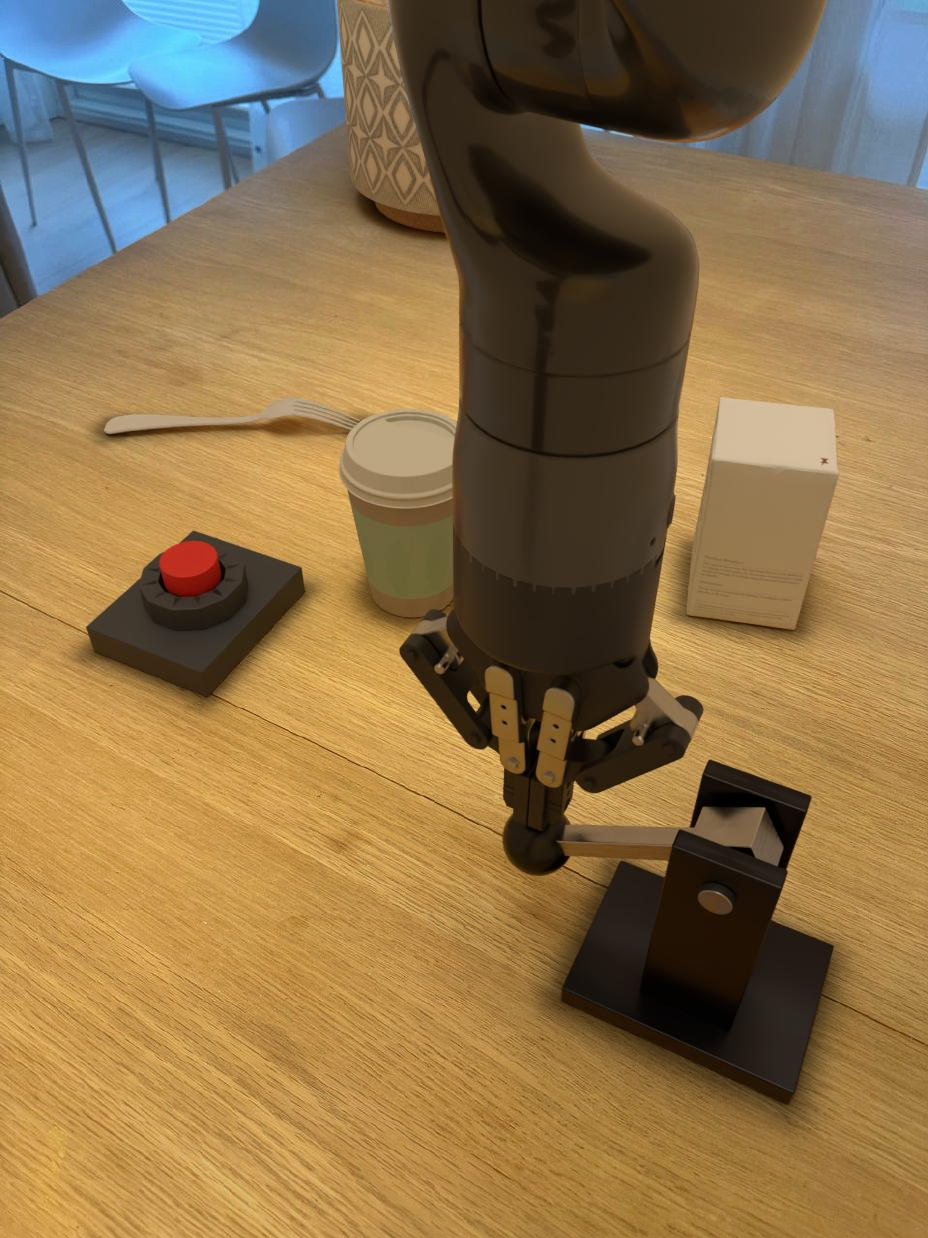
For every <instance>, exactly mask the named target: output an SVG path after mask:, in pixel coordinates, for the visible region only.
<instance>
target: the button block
mask: <svg viewBox="0 0 928 1238" xmlns="http://www.w3.org/2000/svg"><path fill="white" fill-rule="evenodd" d="M187 541H200V542H205V543H207V544H209V545H211V546H212V547H213V548H214V549H215V550H216V552H217V555H218V560H219V565H220V570H221V580H220V582H219V584H218V585H217V586H216V587H215V588H214V589H213V590H212V591H209V592H207V593H204V594H202V595H199V596H196V597H179V596H175V595H173V594H171V593H170V592H169V591H168V590H167V589H166V587H165V585H164V581H163V577H162V573H161V570H160V566H159V561H160V558H161V556H162V554H163V553H164V552H165V551H162V552H161V553H159V554H158V555H156V556H155V557H154V558H153V559H152V560H151V561H150V562H149V563H147V564H146V565H145V566H144V567H143V568H142V572H141V576H140V578H138V579H137V580H136V581H135V582H134V583H133V584H131V586H130V587H129V588H127V589H126V590H125V591H124V592H123V593H122V594H121V595H120V596H119V597H117V598H116V599H115V600H114V601H113V602H111V604H109V605H108V606H107V607H106V608H105V609H104V610H103V611H102V612H100V614H99V615H97V616H96V617H95V618H93V620H92V621H91V622H90V623H88V625H86V627H85V629H86V632H87V635H88V638H89V641H90V643H91V646H92V649H93V652H94V653H97V654H100V655H102V656H104V657H107V658H109V659H112V660H114V661H115V662H116V661H117V662H118V663H119V662H120V663H121V664H124V665H126V666H129V667H131V668H134V669H136V670H139V671H142V672H144V673H146V674H149V675H151V676H154V677H156V678H159V679H161V680H164V681H167V682H169V683H171V684H174V685H176V686H179V687H180V688H184V689H186V690H188V691H192V692H193V693H196V694H198V695H201V696H204V697H206V698H208V697H210V696H211V694H212V693H214V691H215V690H216V689H217V688H218V687H219V686H220V684H221V683H223V681H225V679H226V678H227V677H228V676H229V675H230V674H231V672H233V671H234V669H235V668H236V667H237V666H238V665H239V664H240V663H241V662H242V661H243V659H245V658H246V656H247V655H248V654H249V653H250V652H251V651H252V650H253V649H254V647H256V645H257V644H259V642H260V641H261V640H262V639H263V638H264V637H265V635H267V634H268V632H270V631H271V629H273V627H274V626H275V625H276V624H277V623H278V622H279V620H281V618H282V617H284V615H285V614H286V613H287V612H288V611H289V610H290V609H291V607H292V606H293V605H295V604H296V602H297V601H298V600H299V599H300V598H301V597H302V596H303V595H304V594H305V593H306V587H305V581H304V574H303V573H304V572H303V568H302V566H299V565H297V564H293V563H290V562H288V561H285V560H282V559H278V558H276V557H273V556H270V555H267V554H264V553H261V552H259V551H255V550H252V549H251V548H246V547H244V546H241V545H238V544H235V543H232V542H229V541H226V540H223V539H220V538H217V537H215V536H212V535H209V534H205V533H203V532H199V531H197V530H192V531H190V533H188V534H187V535H186V536H185V537H184V538H183V539H182V540H181V541H180V542H179V543H182V542H187Z"/></svg>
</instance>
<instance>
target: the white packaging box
mask: <svg viewBox="0 0 928 1238" xmlns="http://www.w3.org/2000/svg"><path fill="white" fill-rule="evenodd" d="M714 421H715V422H714V425H713V426H714V427H713V431H712V436H711V437H712V438H711V443H710V449H709V455H708V461H707V467H706V473H705V478H704V484H703V489H702V494H701V498H700V505H699V509H698V514H697V519H696V525H695V530H694V534H693V541H692V548H691V549H692V550H691V560H690V567H689V576H688V577H689V578H688V585H687V586H688V588H687V599H686V615H687V616H691V617H692V616H693V617H699V618H707V619H715V620H722V621H727V622H737V623H744V624H750V625H757V626H764V627H770V628H777V629H783V630H795V629H796V627H797V625H798V621H799V618H800V613H801V610H802V606H803V603H804V600H805V596H806V592H807V588H808V585H809V582H810V578H811V575H812V572H813V567H814V565H815V562H816V557H817V554H818V551H819V547H820V544H821V540H822V536H823V533H824V529H825V526H826V522H827V519H828V516H829V512H830V509H831V506H832V502H833V498H834V495H835V491H836V487H837V484H838V480H839V478H840V469H839V459H838V449H837V448H838V447H837V437H836V435H837V433H836V421H835V410H834V409H833V408H828V407H817V406H809V405H808V406H807V405H798V404H790V403H789V404H788V403H779V402H768V401H760V400H751V399H743V398H742V399H741V398H735V397H734V398H733V397H726V396H720V397H719V399H718V404H717V407H716V414H715V419H714Z"/></svg>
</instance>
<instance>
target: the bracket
mask: <svg viewBox="0 0 928 1238" xmlns="http://www.w3.org/2000/svg"><path fill="white" fill-rule="evenodd" d="M812 799H813V797H812V795H811V794H808V793H805V792H803V791H800V790H797V789H794V788H791V787H788V786H786V785H783V784H780V783H777V782H775V781H772V780H769V779H767V778H764V777H761V776H758V775H755V774H753V773H750V772H747V771H745V770H741V769H738V768H735V767H733V766H730V765H727V764H724V763H722V762H719V761H716V760H714V759H708V760H707V762H706V764H705V766H704V769H703V772H702V774H701V778H700V781H699V786H698V790H697V793H696V798H695V803H694V807H693V811H692V815H691V818H690V819H691V820H690V823H689V827H688V828H694V827H695V825H696V822H697V820H698V818H699V815H700V813H701V810H702V808H703V807H765V808H766V810H767V812H768V814H769V817H770V819H771V821H772V823H773V825H774V828H775V830H776V832H777V834H778V836H779V838H780V841H781V843H782V845H783V851H782V854H781V857H780V860H779V863H778V866H776V865H773V864H771V863H768V862H765V861H763V860H760V859H757V858H755V857H752V856H750V855H747V854H744V853H742V852H739V851H737V850H734V849H731V848H729V847H726V846H724V845H721V844H718V843H716V842H713V841H711V840H708V839H705V838H703V837H700V836H698V835H695V834H692V833H690V832H687V831H685V830H682V829H679V830H678V832H677V835H676V837H675V839H674V842H673V844H672V847H671V851H670V856H669V860H668V861H667V865H666V870H665V874H664V876H662V875H660V874H657V873H655V872H652V871H650V870H648V869H645V868H642V867H640V866H637V865H635V864H633V863H630V862H628V861H626V860H624V859H621V860H620V861H619V862H618V865H617V867H616V869H615V871H614V873H613V876H612V877H611V879H610V882H609V885H608V887H607V889H606V890H605V893H604V895H603V897H602V899H601V901H600V904H599V906H598V908H597V910H596V912H595V915H594V917H593V919H592V921H591V923H590V926H589V928H588V929H587V931H586V934H585V936H584V939H583V941H582V943H581V945H580V947H579V949H578V952H577V954H576V956H575V957H574V960H573V962H572V965H571V966H570V969H569V971H568V973H567V975H566V978H565V979H564V981H563V984H562V986H561V990H560V991H561V992H560V1001H561V1002H564V1003H566V1004H568V1005H570V1006H572V1007H574V1008H576V1009H578V1010H581V1011H582V1012H585V1013H587V1014H589V1015H592V1016H594V1017H596V1018H598V1019H600V1020H602V1021H605V1022H607V1023H609V1024H611V1025H612V1026H613V1025H614V1026H616V1027H618V1028H619V1029H622V1030H624V1031H627V1032H629V1033H631V1034H633V1035H636V1036H638V1037H640V1038H642V1039H644V1040H646V1041H649V1042H650V1043H652V1044H655V1045H657V1046H660V1047H662V1048H664V1049H666V1050H668V1051H670V1052H673V1053H675V1054H677V1055H679V1056H681V1057H683V1058H686V1059H688V1060H690V1061H692V1062H694V1063H696V1064H699V1065H701V1066H704V1067H705V1068H708V1069H710V1070H712V1071H714V1072H716V1073H719V1074H721V1075H722V1076H725V1077H727V1078H730V1079H732V1080H734V1081H735V1082H738V1083H740V1084H743V1085H745V1086H747V1087H749V1088H751V1089H753V1090H755V1091H758V1092H760V1093H761V1094H764V1095H766V1096H769V1097H771V1098H773V1099H775V1100H777V1101H780V1102H782V1103H783V1104H786V1105H790V1104H791V1102H792V1100H793V1098H794V1096H795V1095H796V1090H797V1087H798V1083H799V1080H800V1077H801V1073H802V1068H803V1064H804V1061H805V1057H806V1053H807V1050H808V1046H809V1042H810V1039H811V1035H812V1031H813V1027H814V1023H815V1019H816V1016H817V1012H818V1008H819V1006H820V1005H819V1004H820V1001H821V997H822V993H823V990H824V986H825V983H826V980H827V979H826V978H827V974H828V972H829V968H830V965H831V959H832V957H833V952H834V948H835V945H833V944H831V943H829V942H827V941H825V940H821V939H819V938H816V937H814V936H811V935H809V934H807V933H805V932H802V931H800V930H797V929H794V928H792V927H790V926H787V925H784V924H782V923H779V922H777V921H774V920H772V919H773V916H774V914H775V912H776V908H777V905H778V903H779V900H780V897H781V895H782V892H783V889H784V886H785V884H786V880H787V877H788V873H789V871H788V870H787V869H788V868H789V867H788V866H789V864H790V861H791V858H792V856H793V853H794V851H795V847H796V845H797V842H798V838H799V836H800V833H801V831H802V828H803V826H804V824H805V820H806V817H807V815H808V812H809V808H810V805H811V802H812Z"/></svg>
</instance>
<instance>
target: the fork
mask: <svg viewBox="0 0 928 1238" xmlns="http://www.w3.org/2000/svg"><path fill="white" fill-rule="evenodd" d="M288 416H294V417H301V418H307V419H312V420H315V421H318V422H323V423H326V424H329V425H333V426H337V427H340V428H342V429H346V430H348V431H351V430H352V428H353V427H354V426H355V425H357V424H358V423H359V422H361V419H359V418H357V417H355V416H352V415H350V414H348V413H345V412H343V411H341V410H339V409H337V408H335V407H331V406H328V405H325V404H322V403H319V402H317V401H314V400H311V399H306V398H301V397H296V396H291V397H290V396H288V397H283V398H280V399H276V400H274V401H273V402H271V403H270V404H269V405H268V406H266V407H265V408H264V409H263V410H261V412H258V413H255V414H252V415H247V416H246V415H245V416H234V417H233V416H232V417H231V416H229V417H228V416H227V417H226V416H225V417H221V416H219V417H213V416H212V417H211V416H209V417H207V416H189V415H188V416H187V415H186V416H185V415H170V414H169V415H167V414H150V413H149V414H147V413H139V414H138V413H132V414H125V415H119V416H118V415H117V416H115V417H113V418H110V420H108V421H107V422H106V424H105V426H104V429H103V432H104V433H105V434H107V435H114V434H120V433H121V434H122V433H128V432H136V431H147V430H156V429H157V430H159V429H168V428H170V429H171V428H184V427H200V426H201V427H202V426H227V425H241V424H248V423H252V422H256V421H259V420H274V419H278V418H282V417H288Z"/></svg>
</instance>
